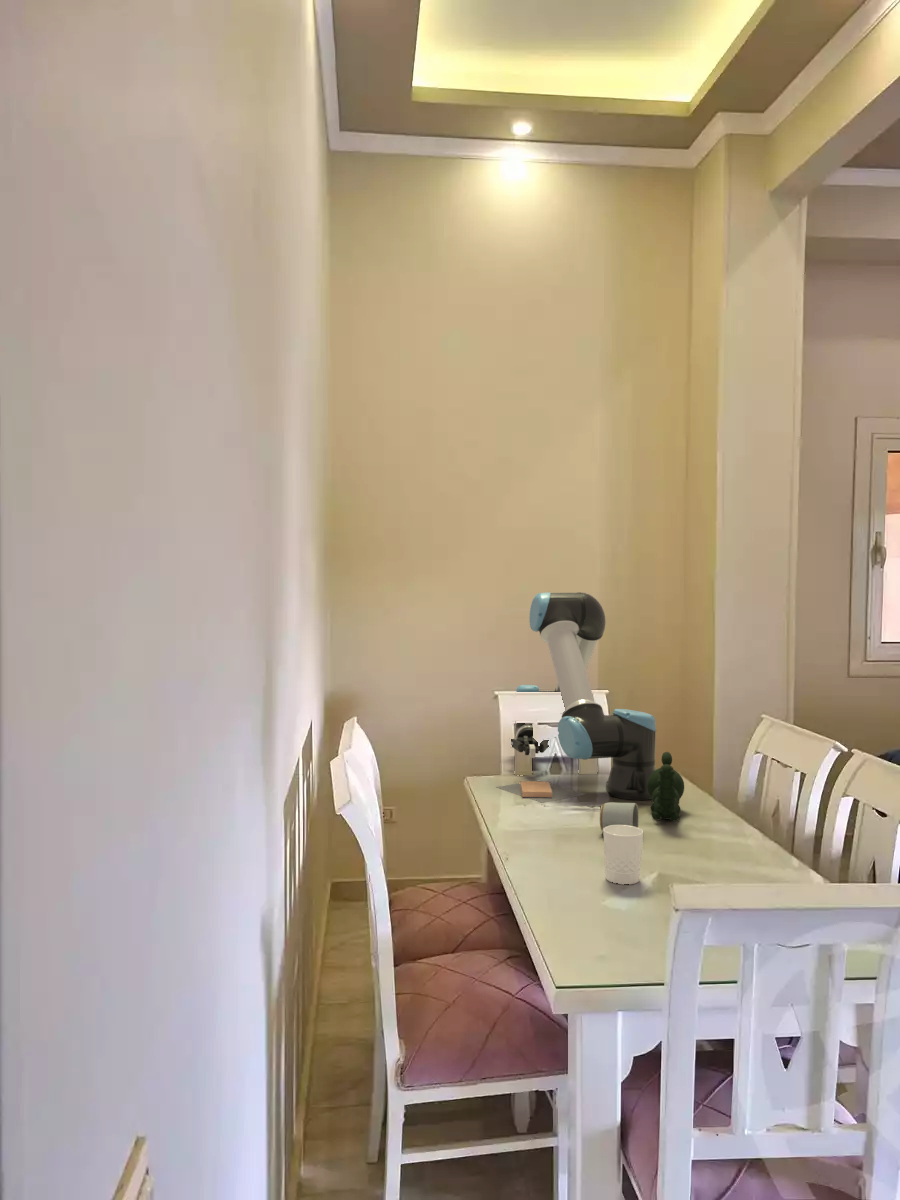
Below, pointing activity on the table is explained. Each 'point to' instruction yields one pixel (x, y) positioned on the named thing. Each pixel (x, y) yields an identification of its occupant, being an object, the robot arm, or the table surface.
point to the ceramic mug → (618, 814)
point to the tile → (535, 789)
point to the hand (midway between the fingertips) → (532, 753)
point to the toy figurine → (665, 790)
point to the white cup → (622, 853)
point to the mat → (556, 795)
